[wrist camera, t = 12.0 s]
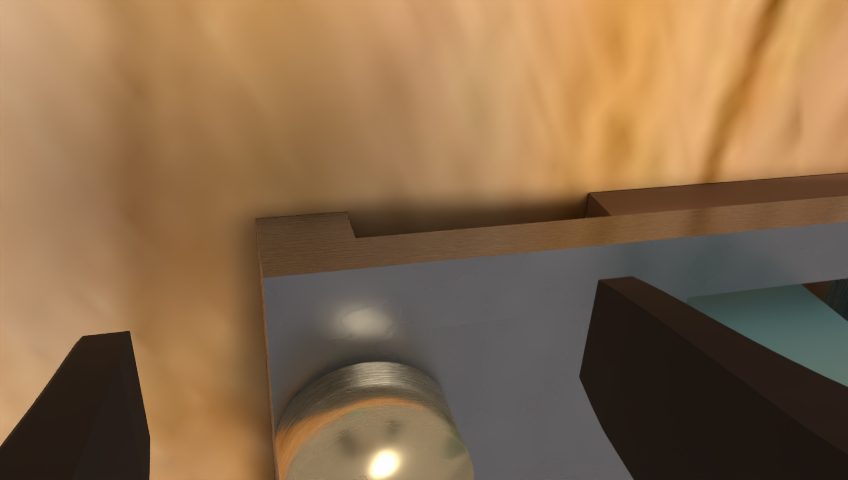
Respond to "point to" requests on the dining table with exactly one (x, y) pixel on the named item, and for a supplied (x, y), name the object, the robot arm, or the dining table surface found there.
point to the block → (785, 325)
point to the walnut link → (720, 199)
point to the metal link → (490, 331)
